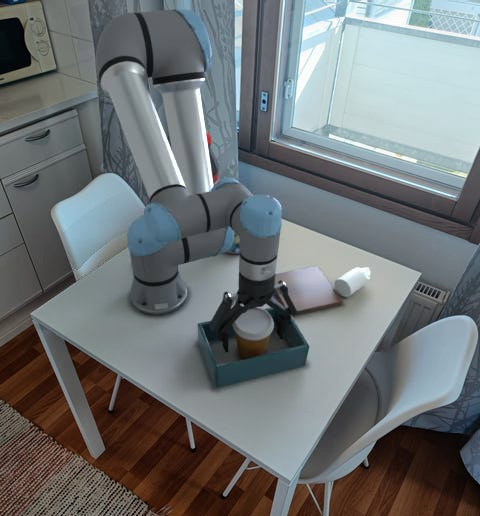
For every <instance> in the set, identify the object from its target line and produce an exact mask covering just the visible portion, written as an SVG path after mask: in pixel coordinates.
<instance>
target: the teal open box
mask: <svg viewBox="0 0 480 516" xmlns="http://www.w3.org/2000/svg"><path fill="white" fill-rule="evenodd" d="M282 306H284V307H285V308H286V306H285V305H282ZM264 309H265V310H266V311H268V312H269V314H270V315H271V317H272V319H273V321H274V329H276V324H277V316H278V312H277V311H276V310H275V309H273V308H272V307H268V308H264ZM290 316H291V315H290ZM210 322H211V320H208V321H203V322H198V323H197V340H198V347H199V349H200V351H201V354H202V357H203V359H204V362H205V365H206V368H207V370H208V373H209V375H210V378H211V381H212V383H213V387H214V389H220V388H223V387H227V386H232V385H236V384H238V383H242V382H247V381H250V380H254V379H259V378H262V377H265V376H266V377H267V376H269V375H273V374H274V375H275V374H277V373H282V372H286V371H289V370H293V369H296V368H300V367H304V366H306V364H307V361H308V360H307V359H308V354H309V351H310V345H309V343H308V341H307V340H306V338H305V336H304V334H303V333H302V331H301V329H300V328H299V326H298V325H297V323H296V321H295V319H294V318H293V316H291V320H289V321H288V325H287V326H286V327H284V334H283V335H285V338H286V339H287V341H288V343H289V344H290V346H291V347H290V348H286V349H281V350H277V351H274V352H269V353H264V355H261V356H257V357H253V358H249V359H245V360H241V359H240V360H237V361H234V362H229V363H225V364H221V365H218V364H217V361H216V358H215V356H214V354H213V351H212V348H211V346H210V343H215V342H220V340H219V338H218V332H217V333H213V332H212V330H211V327H210V325H209V324H210ZM227 330H228V332H229V339H231V338H236V335H235V330H234V329H233V325H231V326H230V327H229V328H228V329H227Z"/></svg>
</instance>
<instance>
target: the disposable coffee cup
mask: <svg viewBox="0 0 480 516" xmlns="http://www.w3.org/2000/svg"><path fill="white" fill-rule="evenodd" d="M265 309H266V308H262V307H256V308H253V309H250V308H249V309H248V310H247V311H246V312H245V313H242V314H241V315H240V316H239V318H238V319H237V320H236V321H235V322H234V323H233V324H232V325H233V329H234V330H235V335H236V337H235V341H236V348H237V354H238V355H237V356H238V358H239V359H240V361H241V360H245V359H249V358H253V357H257V356H261V355H265V354H266V353H265V352H266V350H267V346H268V343H269V340H270V335H271V334H272V333H273V331H274V329H275V328H274V321H273V319H272V317H271V315H270V314H269V312H268V311H266V310H265Z"/></svg>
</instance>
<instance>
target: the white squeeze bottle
mask: <svg viewBox="0 0 480 516" xmlns="http://www.w3.org/2000/svg"><path fill="white" fill-rule="evenodd" d="M371 274H372V272H371V270H370V268H369V267H362V268H361V267H359V266H358V267H354V268H352V269H351V270H349V271H347V272H346V273H344V274H342V275H341V276H340V277H338V278H337V279H335V280H334V283H333V285H334V286H333V287H334V289H335V291H336V292H337V294H338V295H339V296H340V297H344V298H348V297H350V296H352V295H353V294H354V293H356V292H357V291H358V290H360V289H362V288H363V287H364V286H366V285H367V284H368V283H369V282H371Z"/></svg>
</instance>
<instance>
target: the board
mask: <svg viewBox="0 0 480 516" xmlns="http://www.w3.org/2000/svg"><path fill="white" fill-rule="evenodd" d="M280 280H283V281H284V283H285V284H286V286H287V287H288V295H289V297H290V299H291V301H292V302H293V304H294V306H295V308H296V310H297V312H298V313H297V314H296V315H293V314H292V315H291V316H292V317H295V316H299V315H303V314H304V315H305V314H307V313H313V312H316V311H321V310H325V309H326V310H327V309H330V308H335V307H339V306H342V305H343V302H344V301H343V299H342V297H341V295H340V294H339V293H338V292H337V291H336V289H335V287H334V286H333V285H332V284H331V283H330V280H328V277H326V275H325V274H324V273H323V271H322V270H321V269H320V267H319V266H318V265H314V266H309V267H305V268H300V269H294V270H290V271H285V272H279V273H276V276H275V285H276V284H278V282H279V281H280ZM274 295H275V296H276V298H277V300H278V302H279V303H280V304H281V305H285V306H286V308H288V305H287V303H286V302H285V300H284V298H283V296H282V295H281V294H280V293H278V292H277V291H275V294H274Z"/></svg>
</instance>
